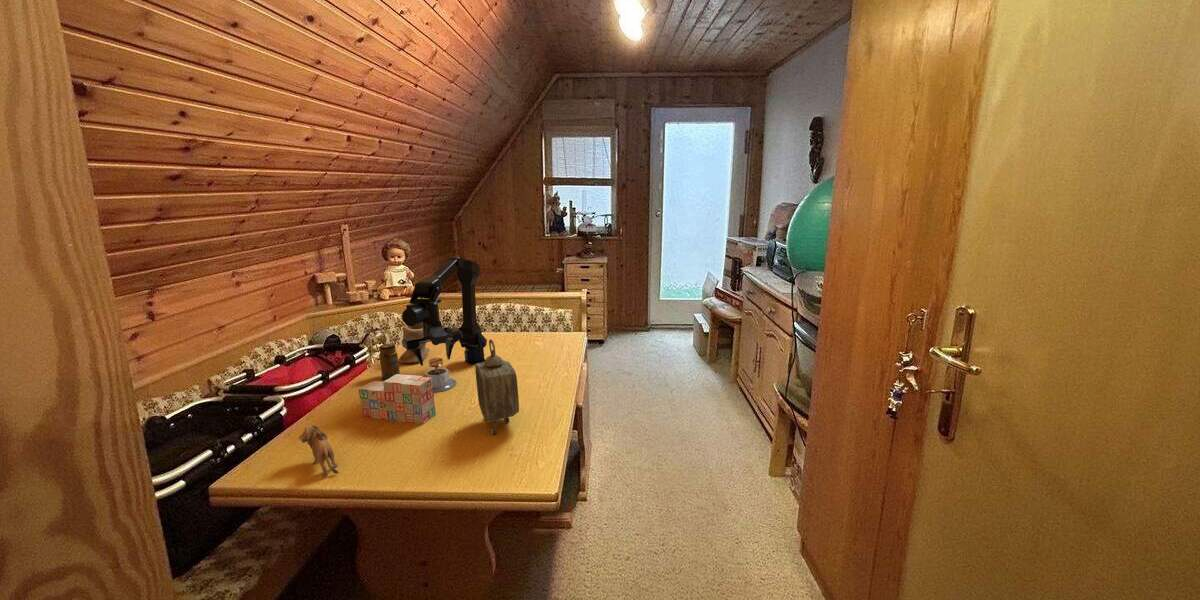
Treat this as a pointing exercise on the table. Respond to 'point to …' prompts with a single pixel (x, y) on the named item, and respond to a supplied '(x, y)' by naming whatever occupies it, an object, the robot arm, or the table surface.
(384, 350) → the condiment
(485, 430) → the table surface
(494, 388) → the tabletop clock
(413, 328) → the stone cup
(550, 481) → the table surface
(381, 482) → the table surface
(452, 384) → the coaster
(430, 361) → the plunger
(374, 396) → the stack of blocks
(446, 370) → the carafe
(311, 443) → the lion figurine
